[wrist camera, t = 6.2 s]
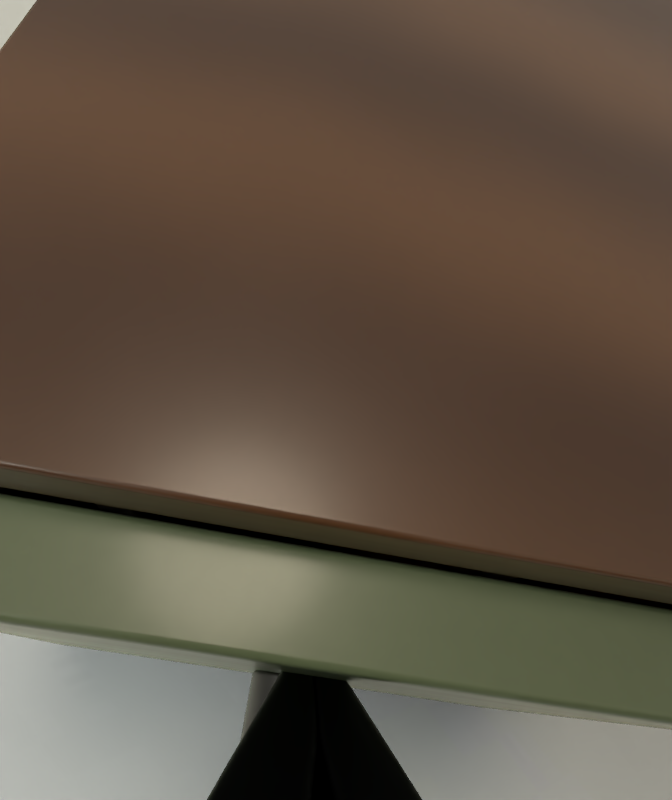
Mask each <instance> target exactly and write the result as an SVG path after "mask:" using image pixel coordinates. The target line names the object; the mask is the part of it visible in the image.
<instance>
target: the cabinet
mask: <svg viewBox="0 0 672 800" xmlns="http://www.w3.org/2000/svg"><path fill="white" fill-rule="evenodd" d="M0 493H3V494H9V495H15V496H21V497H26V498H32V499H38V500H44V501H49V502H55V503H61V504H67V505H72V506H78V507H84V508H90V509H95V510H99V508H98V507H97V506H96V504H101V505H107V506H113V507H119V508H124V509H130V510H136V511H142V512H147V513H153V514H159V515H164V516H170V517H176V518H182V519H187V520H193V521H199V522H205V523H210V524H216V525H222V526H227V527H233V528H239V529H245V530H250V531H256V532H262V533H267V534H273V535H279V536H285V537H290V538H296V539H302V540H308V541H313V542H319V543H325V544H330V545H336V546H342V547H348V548H353V549H359V550H365V551H370V552H376V553H382V554H388V555H393V556H399V557H405V558H411V559H416V560H422V561H428V562H433V563H439V564H445V565H451V566H456V567H462V568H468V569H474V570H479V571H485V572H491V573H496V574H502V575H508V576H514V577H517V578H515V579H512V580H509V581H510V582H516V583H522V584H527V585H533V586H539V587H545V588H550V589H556V590H562V591H568V592H573V593H579V594H585V595H591V596H596V597H602V598H608V599H614V600H619V601H625V602H631V603H637V604H642V605H648V606H654V607H660V608H666V609H671V610H672V0H37V1H36V2H35V4H34V5H33V6H32V8H31V9H30V10H29V12H28V13H27V14H26V16H25V17H24V19H23V20H22V21H21V23H20V24H19V25H18V27H17V28H16V29H15V31H14V32H13V33H12V35H11V36H10V37H9V39H8V40H7V42H6V43H5V44H4V46H3V47H2V48H1V50H0ZM95 503H96V504H95Z"/></svg>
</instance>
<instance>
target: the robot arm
mask: <svg viewBox="0 0 672 800" xmlns="http://www.w3.org/2000/svg"><path fill="white" fill-rule="evenodd" d="M207 800H422V799H421V797H420V796H419V794H418V792H417V791H416V789H415V788H414V786H413V784H412V783H411V781H410V780H409V778H408V777H407V775H406V773H405V772H404V770H403V769H402V767H401V766H400V764H399V762H398V761H397V759H396V758H395V756H394V754H393V753H392V751H391V750H390V748H389V747H388V745H387V743H386V742H385V740H384V739H383V737H382V736H381V734H380V732H379V731H378V729H377V728H376V726H375V725H374V723H373V721H372V720H371V718H370V717H369V715H368V713H367V712H366V710H365V709H364V707H363V706H362V704H361V702H360V701H359V699H358V698H357V696H356V695H355V693H354V691H353V690H352V688H351V687H350V685H349V683H348V682H347V681H344V680H337V679H331V678H324V677H317V676H311V675H304V674H297V673H291V672H284V671H281V672H280V674H279V676H278V677H277V679H276V681H275V683H274V684H273V686H272V688H271V689H270V691H269V693H268V695H267V696H266V698H265V700H264V702H263V703H262V705H261V707H260V709H259V710H258V712H257V714H256V715H255V717H254V719H253V721H252V722H251V724H250V726H249V728H248V729H247V731H246V733H245V735H244V736H243V738H242V740H241V741H240V743H239V745H238V747H237V748H236V750H235V752H234V754H233V755H232V757H231V759H230V761H229V762H228V764H227V766H226V767H225V769H224V771H223V773H222V774H221V776H220V778H219V780H218V781H217V783H216V785H215V787H214V788H213V790H212V792H211V793H210V795H209V797H208V799H207Z"/></svg>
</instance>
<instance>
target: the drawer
mask: <svg viewBox="0 0 672 800" xmlns="http://www.w3.org/2000/svg"><path fill="white" fill-rule="evenodd" d="M95 504H96V503H95ZM96 506H97V507H98V508H99V510H95V509H90V508H84V507H78V506H72V505H67V504H61V503H55V502H49V501H44V500H38V499H32V498H26V497H21V496H15V495H9V494H3V493H0V632H1V633H6V634H11V635H16V636H21V637H26V638H31V639H36V640H41V641H46V642H51V643H56V644H61V645H68V646H74V647H81V648H88V649H94V650H101V651H108V652H115V653H121V654H128V655H135V656H141V657H148V658H155V659H161V660H168V661H175V662H182V663H188V664H195V665H202V666H208V667H215V668H222V669H228V670H235V671H242V672H248V673H253V674H252V680H251V685H250V691H249V696H248V702H247V707H246V713H245V718H244V724H243V729H242V735H241V740H242V738H243V736H244V735H245V733H246V731H247V729H248V728H249V726H250V724H251V722H252V721H253V719H254V717H255V715H256V714H257V712H258V710H259V709H260V707H261V705H262V703H263V702H264V700H265V698H266V696H267V695H268V693H269V691H270V689H271V688H272V686H273V684H274V683H275V681H276V679H277V677H278V676H279V674H280V672H281V671H284V672H291V673H297V674H304V675H311V676H317V677H324V678H331V679H337V680H344V681H347V682H348V683H349V685H350V687H351V688H356V689H362V690H369V691H376V692H382V693H389V694H396V695H402V696H409V697H416V698H423V699H429V700H436V701H443V702H449V703H456V704H463V705H469V706H476V707H483V708H492V709H500V710H509V711H517V712H526V713H535V714H543V715H552V716H560V717H569V718H577V719H586V720H594V721H603V722H612V723H620V724H629V725H637V726H646V727H654V728H663V729H671V730H672V610H671V609H666V608H660V607H654V606H648V605H642V604H637V603H631V602H625V601H619V600H614V599H608V598H602V597H596V596H591V595H585V594H579V593H573V592H568V591H562V590H556V589H550V588H545V587H539V586H533V585H527V584H522V583H516V582H510V581H509V580H512V579H515V578H517V577H514V576H508V575H502V574H496V573H491V572H485V571H479V570H474V569H468V568H462V567H456V566H451V565H445V564H439V563H433V562H428V561H422V560H416V559H411V558H405V557H399V556H393V555H388V554H382V553H376V552H370V551H365V550H359V549H353V548H348V547H342V546H336V545H330V544H325V543H319V542H313V541H308V540H302V539H296V538H290V537H285V536H279V535H273V534H267V533H262V532H256V531H250V530H245V529H239V528H233V527H227V526H222V525H216V524H210V523H205V522H199V521H193V520H187V519H182V518H176V517H170V516H164V515H159V514H153V513H147V512H142V511H136V510H130V509H124V508H119V507H113V506H107V505H101V504H96ZM241 740H240V741H241Z"/></svg>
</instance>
